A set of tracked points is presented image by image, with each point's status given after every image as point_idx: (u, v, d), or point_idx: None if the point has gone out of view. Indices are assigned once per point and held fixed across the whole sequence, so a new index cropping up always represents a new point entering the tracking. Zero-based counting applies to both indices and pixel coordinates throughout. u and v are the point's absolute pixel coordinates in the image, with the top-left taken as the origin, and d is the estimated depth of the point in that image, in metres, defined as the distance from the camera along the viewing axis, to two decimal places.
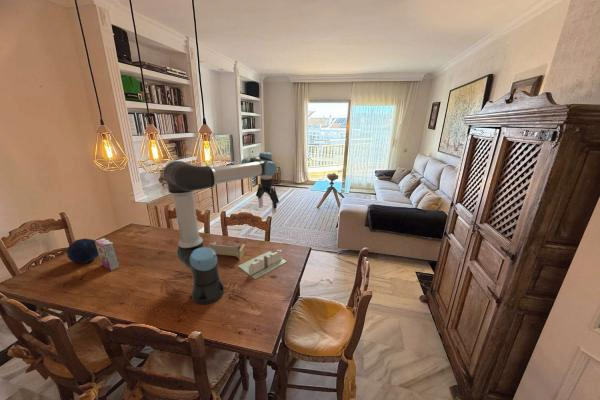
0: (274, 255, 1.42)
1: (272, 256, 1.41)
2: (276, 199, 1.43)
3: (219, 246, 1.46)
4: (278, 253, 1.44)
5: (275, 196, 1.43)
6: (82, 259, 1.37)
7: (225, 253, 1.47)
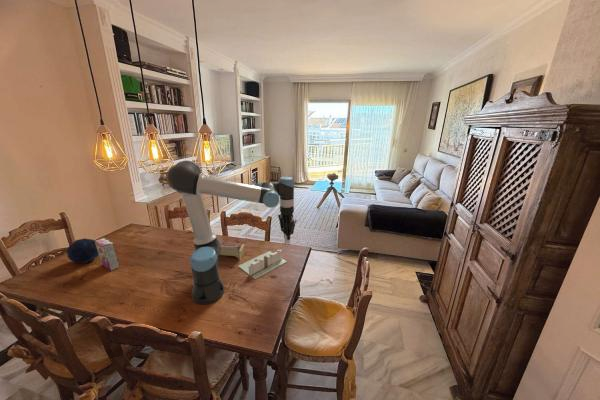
0: (274, 255, 1.42)
1: (272, 256, 1.41)
2: (292, 231, 1.29)
3: None
4: (278, 253, 1.44)
5: (292, 229, 1.28)
6: (82, 259, 1.37)
7: (225, 253, 1.47)
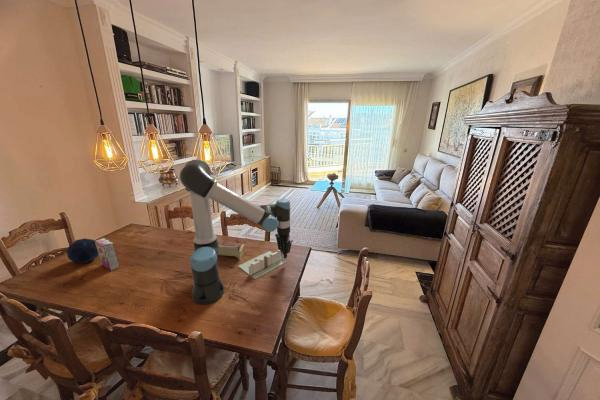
0: (274, 255, 1.42)
1: (272, 256, 1.41)
2: (288, 250, 1.36)
3: (219, 246, 1.45)
4: (278, 253, 1.44)
5: (288, 248, 1.35)
6: (82, 259, 1.37)
7: (225, 253, 1.47)
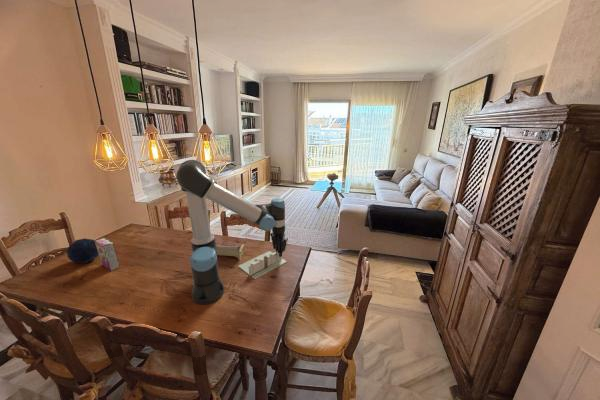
0: (274, 255, 1.42)
1: (272, 256, 1.41)
2: (283, 249, 1.38)
3: (219, 247, 1.45)
4: None
5: (284, 246, 1.37)
6: (82, 259, 1.37)
7: (225, 254, 1.47)
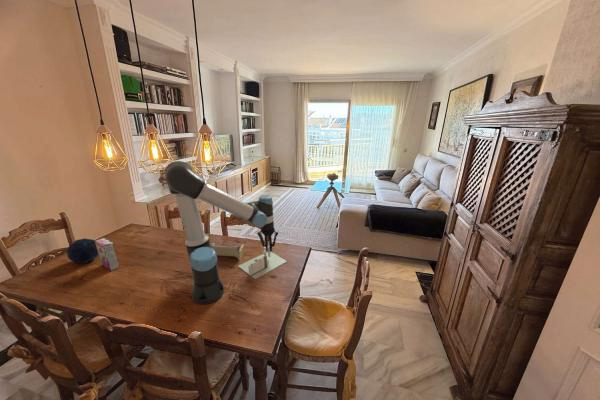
0: None
1: None
2: None
3: (218, 247, 1.45)
4: None
5: (275, 240, 1.43)
6: (82, 259, 1.37)
7: (224, 254, 1.46)
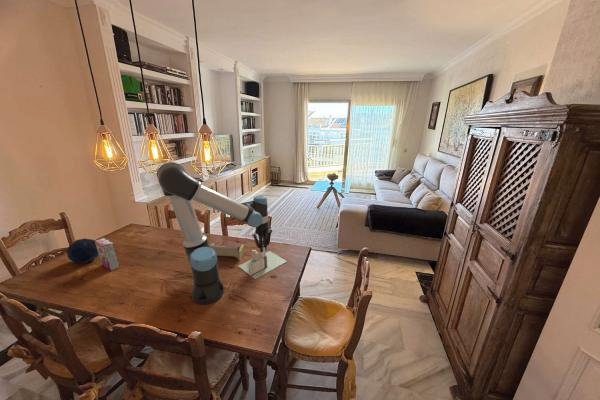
0: None
1: None
2: None
3: (218, 247, 1.45)
4: None
5: None
6: (82, 259, 1.37)
7: (224, 254, 1.46)
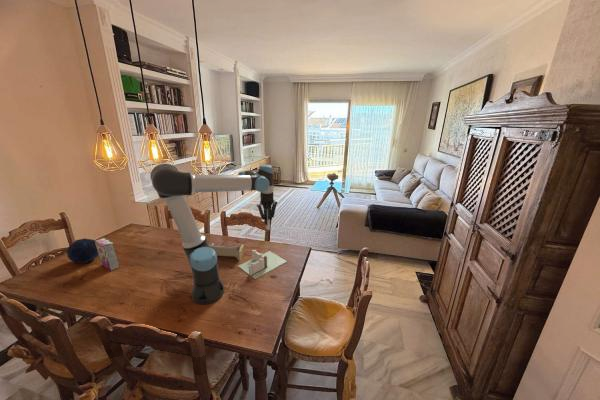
0: None
1: None
2: None
3: (218, 247, 1.44)
4: None
5: None
6: (82, 259, 1.37)
7: (224, 254, 1.46)
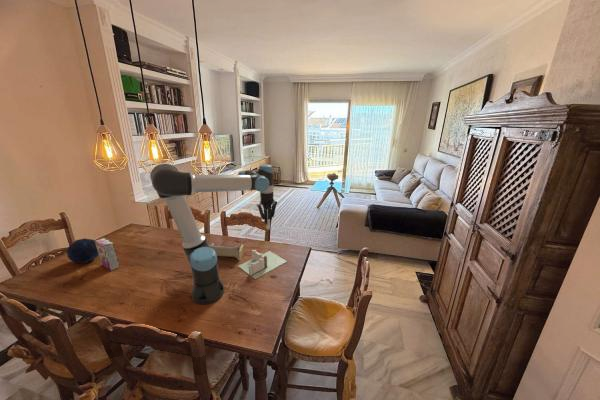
0: None
1: None
2: None
3: (218, 247, 1.44)
4: None
5: None
6: (82, 259, 1.37)
7: (224, 254, 1.46)
